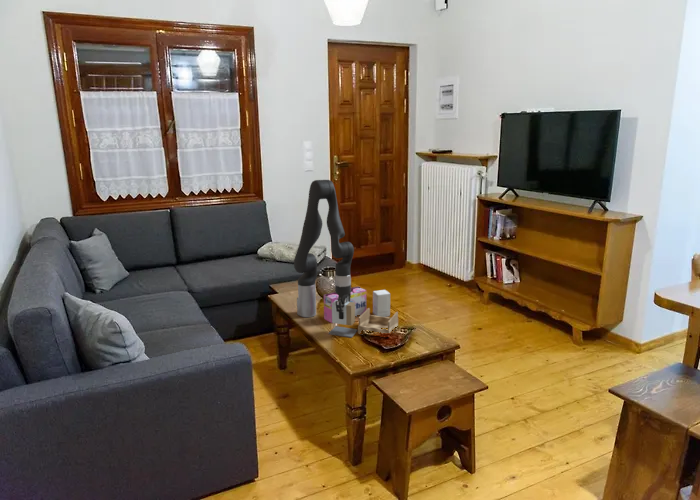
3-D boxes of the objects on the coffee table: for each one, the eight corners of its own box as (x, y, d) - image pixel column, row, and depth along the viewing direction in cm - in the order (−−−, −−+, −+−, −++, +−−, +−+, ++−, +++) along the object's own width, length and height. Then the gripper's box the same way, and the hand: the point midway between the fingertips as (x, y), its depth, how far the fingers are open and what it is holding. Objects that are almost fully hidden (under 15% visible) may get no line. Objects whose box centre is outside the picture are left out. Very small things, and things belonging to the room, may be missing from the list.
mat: (328, 334, 240) (328, 332, 240) (335, 327, 248) (335, 326, 248) (351, 337, 236) (351, 336, 236) (358, 330, 244) (358, 329, 244)
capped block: (332, 322, 240) (331, 303, 238) (336, 319, 245) (335, 300, 243) (351, 325, 237) (351, 305, 234) (355, 321, 241) (354, 302, 239)
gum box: (359, 309, 273) (360, 285, 270) (368, 313, 267) (369, 289, 263) (323, 319, 259) (323, 294, 256) (332, 323, 253) (331, 298, 250)
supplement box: (390, 316, 262) (390, 293, 259) (377, 317, 260) (377, 295, 257) (385, 311, 269) (385, 289, 266) (372, 312, 267) (372, 290, 264)
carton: (358, 333, 241) (358, 318, 239) (368, 322, 255) (368, 307, 253) (388, 338, 235) (389, 322, 233) (398, 326, 249) (398, 311, 247)
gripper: (341, 278, 244) (341, 310, 248) (329, 287, 231) (330, 321, 235) (355, 280, 241) (355, 312, 245) (344, 288, 228) (345, 323, 232)
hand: (343, 316), depth 240 cm, fingers closed on capped block, 5 cm apart
